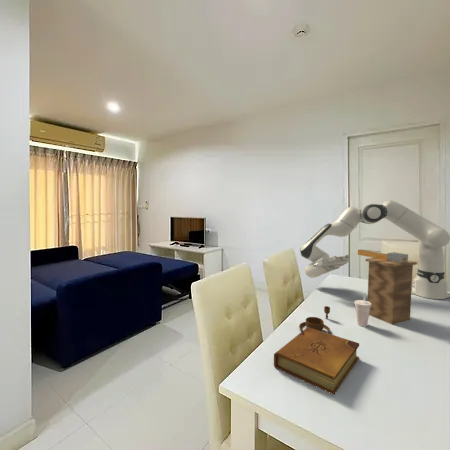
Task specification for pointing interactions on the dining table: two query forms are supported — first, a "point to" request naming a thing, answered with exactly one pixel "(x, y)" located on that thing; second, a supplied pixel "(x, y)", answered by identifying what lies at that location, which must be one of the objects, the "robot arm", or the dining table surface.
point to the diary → (318, 358)
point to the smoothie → (362, 311)
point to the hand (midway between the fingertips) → (342, 256)
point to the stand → (390, 290)
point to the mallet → (386, 256)
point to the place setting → (316, 322)
